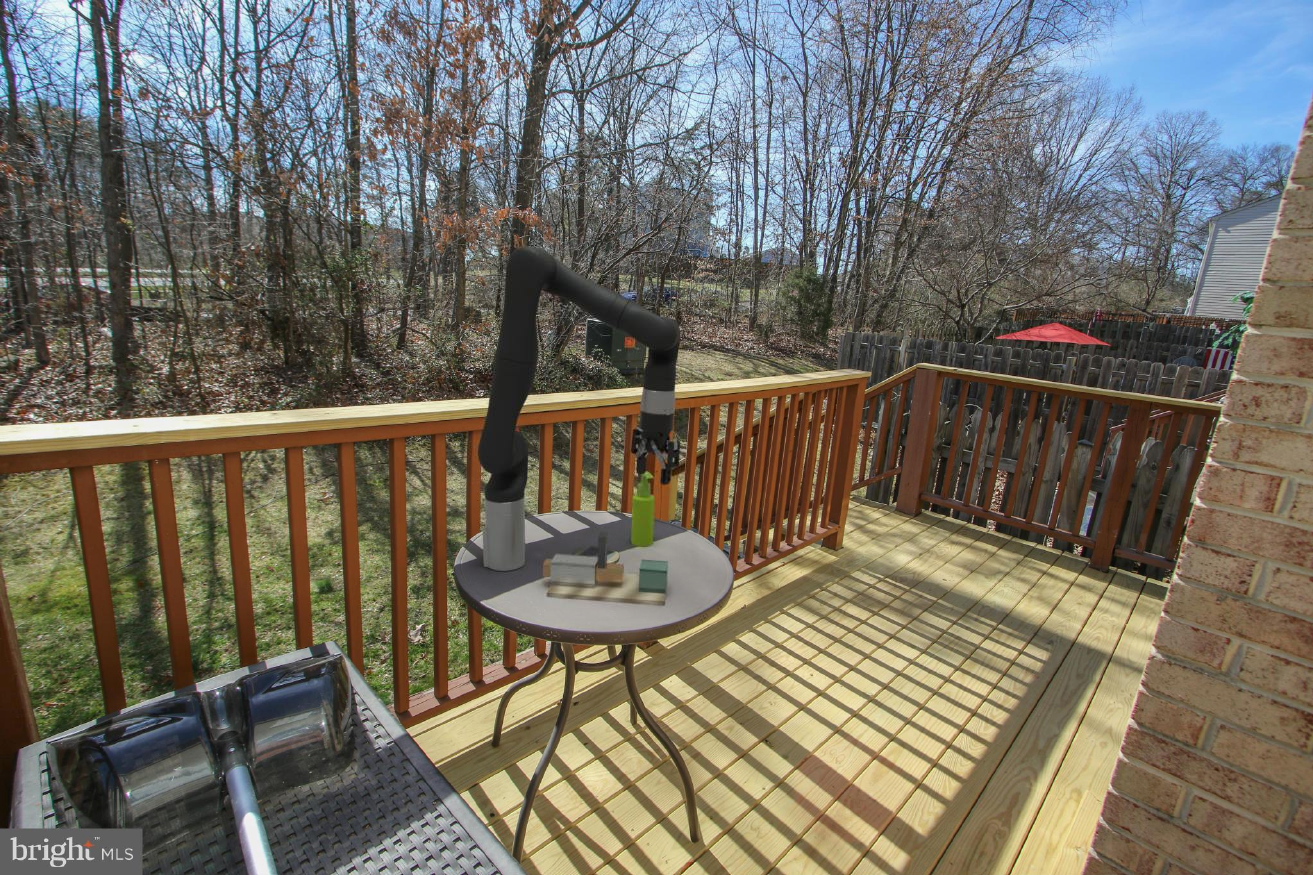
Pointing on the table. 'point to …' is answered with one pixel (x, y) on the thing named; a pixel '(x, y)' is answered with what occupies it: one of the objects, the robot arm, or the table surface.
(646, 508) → the soap dispenser
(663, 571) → the socket block
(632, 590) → the base board
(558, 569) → the outer sleeve
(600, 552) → the inner bar
